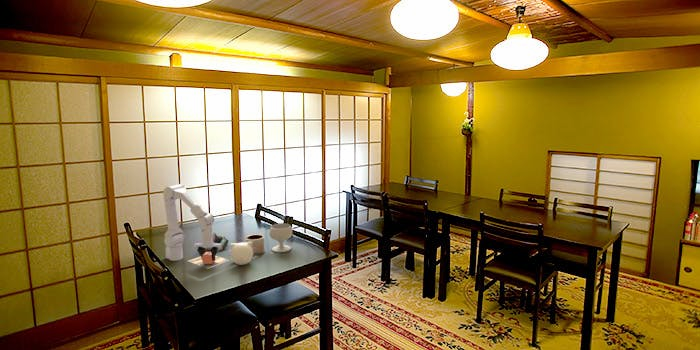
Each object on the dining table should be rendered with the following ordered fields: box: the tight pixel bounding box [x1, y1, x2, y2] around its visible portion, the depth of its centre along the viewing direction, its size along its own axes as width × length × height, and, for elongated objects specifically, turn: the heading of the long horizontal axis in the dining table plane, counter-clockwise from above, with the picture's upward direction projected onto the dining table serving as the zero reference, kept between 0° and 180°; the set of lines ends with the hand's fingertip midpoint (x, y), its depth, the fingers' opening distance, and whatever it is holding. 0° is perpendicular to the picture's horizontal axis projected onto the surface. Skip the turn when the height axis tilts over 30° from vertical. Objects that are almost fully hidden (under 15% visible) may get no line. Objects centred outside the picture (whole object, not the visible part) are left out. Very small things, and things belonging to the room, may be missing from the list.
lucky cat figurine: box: [206, 231, 229, 253], centre depth 232 cm, size 15×12×14 cm
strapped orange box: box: [202, 251, 215, 264], centre depth 209 cm, size 5×5×5 cm
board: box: [187, 255, 231, 270], centre depth 214 cm, size 19×14×4 cm
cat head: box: [228, 242, 254, 266], centre depth 211 cm, size 15×13×12 cm
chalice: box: [268, 222, 293, 253], centre depth 234 cm, size 14×14×15 cm
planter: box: [245, 233, 265, 255], centre depth 230 cm, size 11×11×10 cm
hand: (208, 260), depth 209 cm, fingers closed on strapped orange box, 5 cm apart
